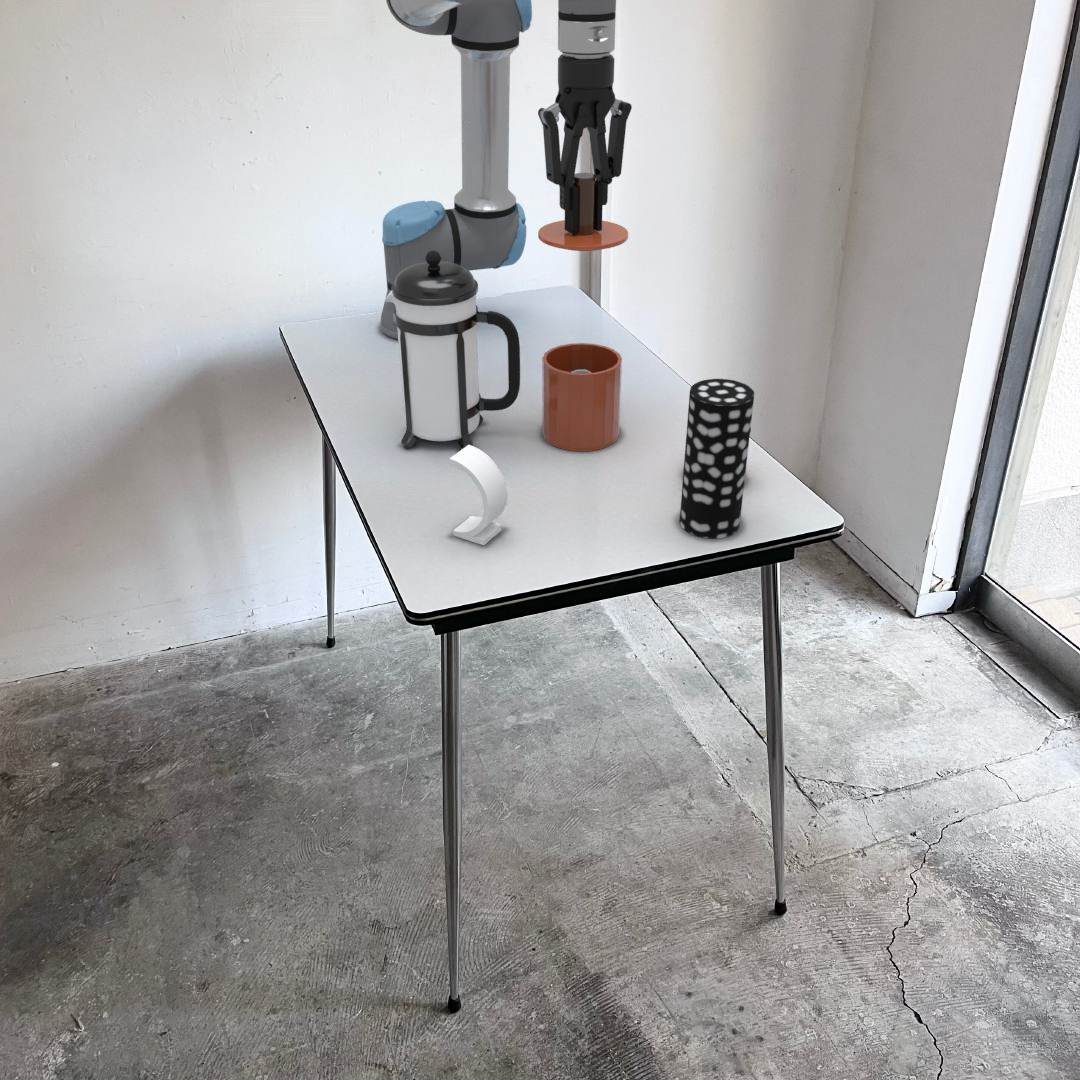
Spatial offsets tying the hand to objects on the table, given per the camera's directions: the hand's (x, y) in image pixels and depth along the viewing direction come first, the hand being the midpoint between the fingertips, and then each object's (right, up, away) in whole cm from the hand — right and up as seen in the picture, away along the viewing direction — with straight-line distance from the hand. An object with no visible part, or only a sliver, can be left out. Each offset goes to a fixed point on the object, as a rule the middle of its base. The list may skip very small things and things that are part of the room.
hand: (583, 229), depth 157 cm
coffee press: (-20, -28, +18) cm, 39 cm away
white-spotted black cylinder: (+17, -43, -5) cm, 46 cm away
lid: (0, -1, 0) cm, 1 cm away
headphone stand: (-14, -44, -7) cm, 47 cm away
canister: (0, -28, +18) cm, 33 cm away
